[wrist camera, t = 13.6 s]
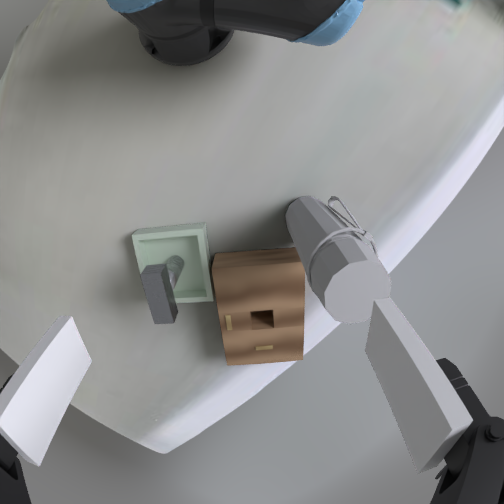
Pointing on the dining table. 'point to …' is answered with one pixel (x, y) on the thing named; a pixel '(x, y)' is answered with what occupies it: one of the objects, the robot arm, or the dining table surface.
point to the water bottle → (337, 260)
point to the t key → (162, 288)
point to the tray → (185, 246)
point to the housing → (260, 305)
